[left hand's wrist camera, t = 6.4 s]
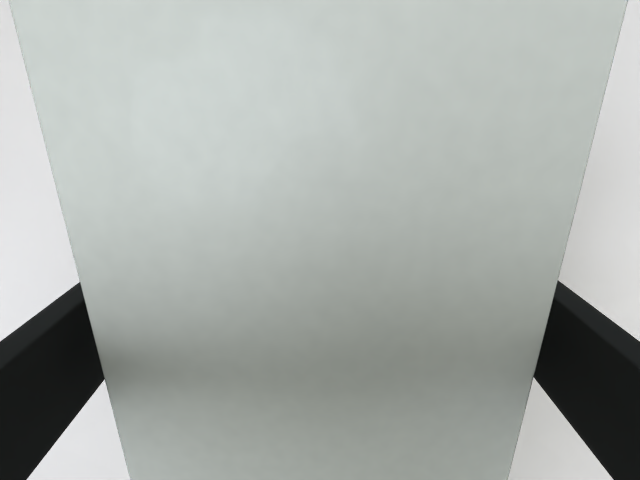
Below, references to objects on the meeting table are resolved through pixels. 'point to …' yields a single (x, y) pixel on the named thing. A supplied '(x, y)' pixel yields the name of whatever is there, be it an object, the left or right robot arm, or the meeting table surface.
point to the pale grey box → (318, 220)
